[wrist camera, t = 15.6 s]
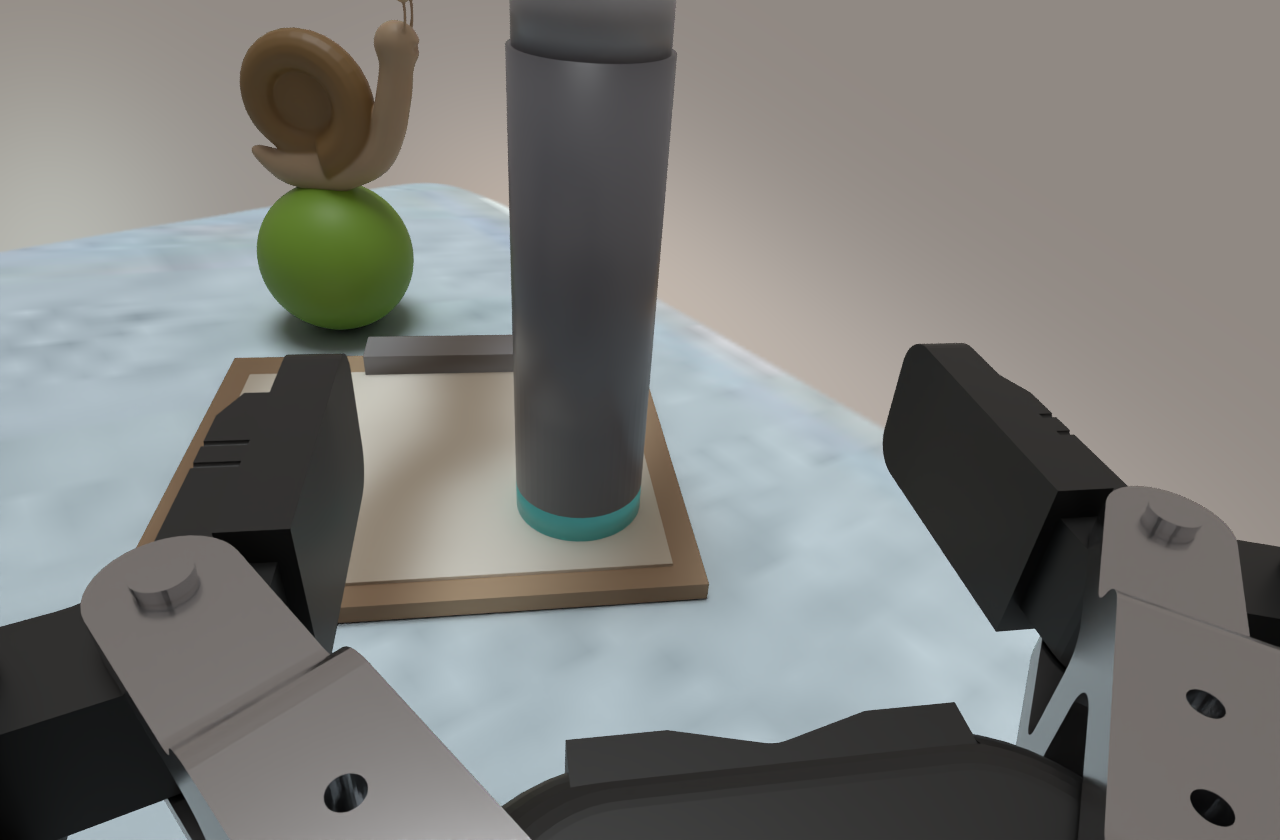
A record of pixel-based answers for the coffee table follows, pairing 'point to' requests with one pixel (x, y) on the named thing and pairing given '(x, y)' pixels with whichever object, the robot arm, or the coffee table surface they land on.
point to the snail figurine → (331, 172)
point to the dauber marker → (585, 250)
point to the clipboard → (470, 494)
